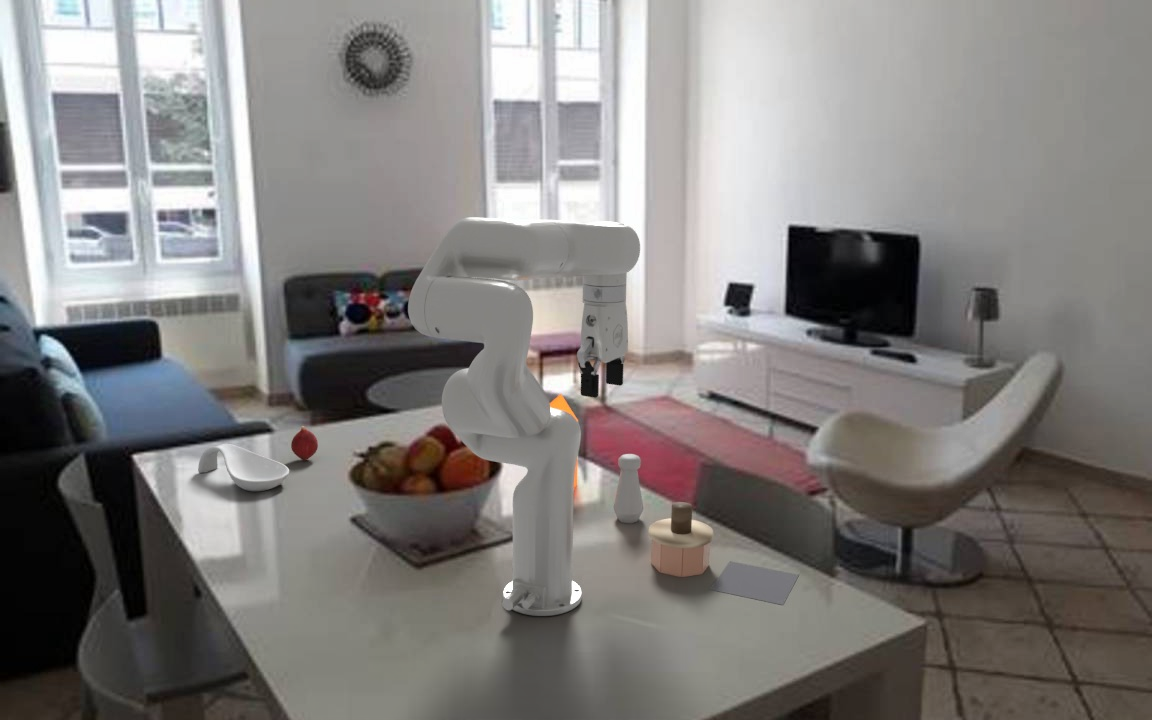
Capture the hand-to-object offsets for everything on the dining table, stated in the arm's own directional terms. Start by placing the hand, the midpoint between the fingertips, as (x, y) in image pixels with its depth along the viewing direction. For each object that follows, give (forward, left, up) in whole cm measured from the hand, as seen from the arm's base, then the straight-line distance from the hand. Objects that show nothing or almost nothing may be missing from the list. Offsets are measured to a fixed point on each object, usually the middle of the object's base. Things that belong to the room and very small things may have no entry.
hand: (602, 390), depth 166 cm
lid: (-3, -17, -23) cm, 28 cm away
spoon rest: (-5, +81, -29) cm, 87 cm away
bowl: (-3, -17, -29) cm, 34 cm away
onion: (+12, +78, -29) cm, 84 cm away
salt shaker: (+13, -1, -29) cm, 32 cm away
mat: (-4, -30, -29) cm, 42 cm away
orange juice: (+21, +19, -29) cm, 41 cm away
